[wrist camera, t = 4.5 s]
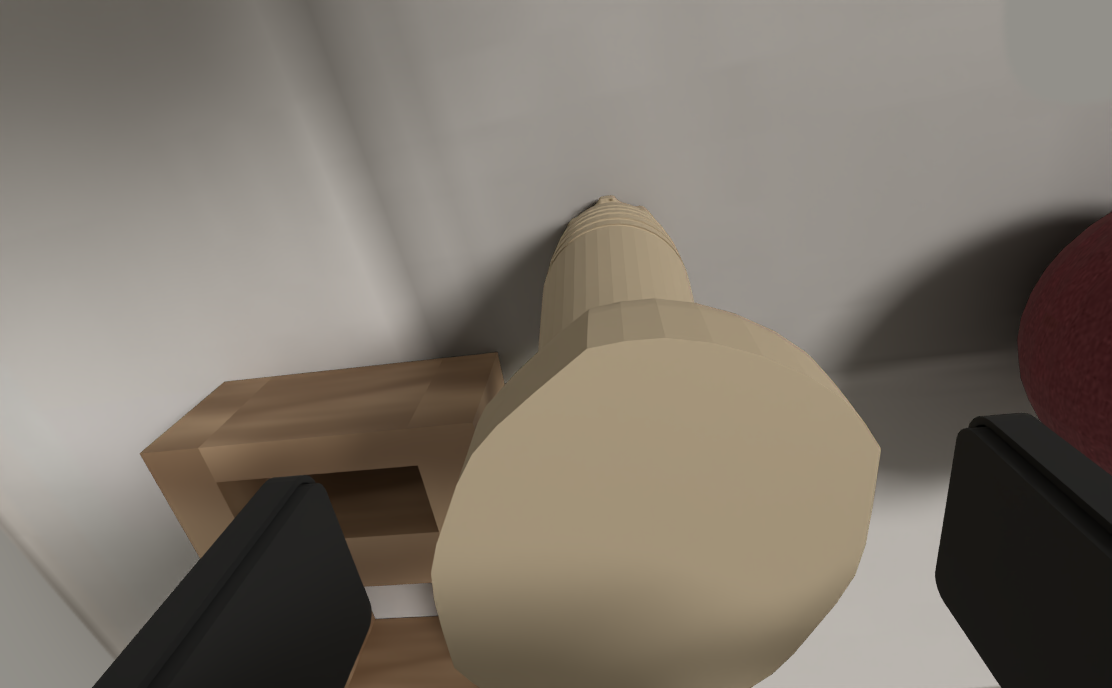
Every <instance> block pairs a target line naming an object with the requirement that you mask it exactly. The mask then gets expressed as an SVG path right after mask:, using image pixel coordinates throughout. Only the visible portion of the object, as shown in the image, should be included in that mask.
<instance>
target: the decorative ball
mask: <svg viewBox="0 0 1112 688" xmlns="http://www.w3.org/2000/svg"><path fill="white" fill-rule="evenodd" d="M1017 344H1018V358H1019V368H1020V376H1021V380H1022V383H1023V386H1024V388H1025V391H1026V394H1027V397H1028V399H1029V401H1030V403H1031V405H1032V407H1033V409H1034V410H1035V412H1036V414H1037V416H1038V418H1039V419H1040V421H1041V422H1042V423H1043V424H1044V425H1046V426H1047V427H1048V428H1050V429H1051V430H1052V431H1053V432H1055V433H1056V434H1057V435H1059V436H1060V437H1061V438H1063V439H1064V440H1065V441H1067V442H1068V443H1069V444H1071V445H1072V446H1073V447H1075V448H1076V449H1077V450H1078V451H1080V452H1081V453H1082V454H1084V455H1085V456H1086V457H1088V458H1089V459H1090V460H1092V461H1093V462H1094V463H1096V464H1097V465H1098V466H1100V467H1101V468H1102V469H1103V470H1105V471H1106V472H1107V473H1109V474H1110V475H1111V476H1112V212H1110V213H1109V214H1107V215H1106V216H1104V217H1103V218H1101V219H1100V220H1098V221H1096V222H1095V223H1093V224H1092V225H1091V226H1089V227H1088V228H1087V229H1086V230H1085V231H1083V232H1082V233H1081V234H1080V235H1079V236H1078V237H1076V238H1075V239H1074V240H1073V241H1072V242H1071V243H1069V244H1068V245H1067V246H1066V247H1065V248H1064V249H1063V250H1062V251H1061V252H1060V253H1059V254H1058V255H1057V256H1056V258H1055V259H1054V260H1053V261H1052V262H1051V263H1050V264H1049V266H1048V267H1047V268H1046V269H1045V271H1044V273H1043V274H1042V276H1041V277H1040V279H1039V280H1038V282H1037V284H1036V285H1035V287H1034V289H1033V290H1032V292H1031V294H1030V297H1029V299H1028V302H1027V304H1026V307H1025V309H1024V312H1023V314H1022V316H1021V321H1020V327H1019V332H1018V338H1017Z"/></svg>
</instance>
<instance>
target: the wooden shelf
mask: <svg viewBox="0 0 1112 688" xmlns="http://www.w3.org/2000/svg"><path fill="white" fill-rule="evenodd" d="M504 385H505V384H504V379H503V375H502V370H501V366H500V361H499V357H498V352H494V353H485V354H476V355H467V356H457V357H448V358H439V359H430V360H421V361H411V362H402V363H393V364H384V365H375V366H365V367H356V368H347V369H338V370H329V371H320V372H310V373H301V374H292V375H283V376H274V377H264V378H255V379H246V380H237V381H228V382H224V383H223V384H221V385H220V386H219V387H218V388H217V389H215V390H214V391H213V392H212V393H211V394H210V395H208V396H207V397H206V398H205V399H204V400H202V401H201V402H200V403H199V404H198V405H197V406H195V407H194V408H193V409H192V410H191V411H189V412H188V413H187V414H186V415H185V416H183V417H182V418H181V419H180V420H179V421H178V422H176V423H175V424H174V425H173V426H172V427H170V428H169V429H168V430H167V431H166V432H165V433H163V434H162V435H161V436H160V437H159V438H157V439H156V440H155V441H154V442H153V443H152V444H150V445H149V446H148V447H147V448H146V449H144V450H143V451H142V452H141V453H140V455H141V457H142V458H143V460H144V462H145V464H146V465H147V467H148V469H149V471H150V472H151V474H152V476H153V478H154V479H155V481H156V483H157V485H158V486H159V488H160V490H161V491H162V493H163V495H164V497H165V498H166V500H167V502H168V504H169V505H170V507H171V509H172V511H173V512H174V514H175V516H176V517H177V519H178V521H179V523H180V524H181V526H182V528H183V530H184V531H185V533H186V535H187V537H188V538H189V540H190V542H191V544H192V545H193V547H194V549H195V550H196V552H197V554H198V556H199V557H200V559H201V557H202V556H203V555H204V554H205V553H206V552H207V550H208V549H209V548H210V547H211V546H212V544H213V543H214V542H215V541H216V540H217V538H218V537H219V536H220V535H221V534H222V533H223V531H224V530H225V529H226V528H227V527H228V525H229V524H230V523H231V522H232V521H233V519H234V518H235V517H236V516H237V515H238V513H239V512H240V511H241V510H242V509H243V508H244V506H245V505H246V504H247V503H248V502H249V500H250V499H251V498H252V497H253V496H254V494H255V493H256V492H257V491H258V490H259V489H260V487H261V486H262V485H263V484H264V483H265V482H266V481H267V480H268V479H271V478H274V477H285V476H297V475H308V476H311V477H312V478H313V479H314V481H315V482H316V483H320V484H322V485H323V486H324V488H325V489H326V491H327V494H328V497H329V499H330V502H331V504H332V507H333V509H334V512H335V514H336V517H337V519H338V522H339V525H340V527H341V530H342V532H343V535H344V537H345V540H346V542H347V545H348V548H349V550H350V553H351V555H352V558H353V560H354V563H355V565H356V568H357V571H358V573H359V576H360V578H361V581H362V583H363V586H364V587H365V586H383V585H400V584H418V583H432V578H431V571H432V565H433V560H434V554H435V549H436V544H437V541H438V539H439V536H440V533H441V530H442V527H443V524H444V521H445V518H446V515H447V512H448V509H449V506H450V503H451V500H452V497H453V494H454V491H455V488H456V485H457V482H458V479H459V476H460V473H461V470H462V468H463V465H464V462H465V459H466V456H467V453H468V450H469V447H470V444H471V441H472V438H473V435H474V432H475V429H476V426H477V423H478V421H479V419H480V417H481V415H482V413H483V411H484V409H485V407H486V405H487V404H488V403H489V402H490V401H491V400H492V399H493V398H494V396H495V395H496V394H497V393H498V392H499V391H500V390H501V389H502V388H503V387H504ZM344 688H480V687H478V686H477V685H475V684H474V683H472V682H471V681H470V680H468V679H467V678H466V677H465V676H464V675H462V674H461V673H460V672H459V671H458V670H456V669H455V668H454V665H453V662H452V659H451V656H450V653H449V650H448V647H447V643H446V640H445V637H444V634H443V631H442V627H441V624H440V620H439V616H433V617H412V618H392V619H375V617H374V615H373V612H372V617H371V624H370V627H369V631H368V633H367V635H366V638H365V640H364V642H363V645H362V647H361V649H360V652H359V654H358V657H357V659H356V661H355V664H354V666H353V668H352V671H351V673H350V676H349V678H348V680H347V683H346V685H345V687H344Z"/></svg>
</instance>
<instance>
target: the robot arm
mask: <svg viewBox="0 0 1112 688" xmlns="http://www.w3.org/2000/svg"><path fill="white" fill-rule="evenodd" d="M935 578H936V584H937V588H938V591H939V593H940V596H941V598H942V599H943V601H944V603H945V604H946V606H947V607H948V609H949V610H950V612H951V613H952V615H953V616H954V618H955V619H956V621H957V622H958V624H959V625H960V627H961V628H962V630H963V631H964V633H965V634H966V636H967V637H968V639H969V640H970V642H971V643H972V645H973V646H974V648H975V649H976V651H977V652H978V654H979V655H980V657H981V658H982V660H983V661H984V663H985V664H986V666H987V667H988V669H989V670H990V672H991V673H992V675H993V676H994V677H995V679H996V680H997V682H998V683H999V685H1000V686H1001V688H1112V476H1111V475H1110V474H1109V473H1107V472H1106V471H1105V470H1103V469H1102V468H1101V467H1100V466H1098V465H1097V464H1096V463H1094V462H1093V461H1092V460H1090V459H1089V458H1088V457H1086V456H1085V455H1084V454H1082V453H1081V452H1080V451H1078V450H1077V449H1076V448H1075V447H1073V446H1072V445H1071V444H1069V443H1068V442H1067V441H1065V440H1064V439H1063V438H1061V437H1060V436H1059V435H1057V434H1056V433H1055V432H1053V431H1052V430H1051V429H1050V428H1048V427H1047V426H1046V425H1044V424H1043V423H1042V422H1040V421H1039V420H1038V419H1036V418H1035V417H1033V416H1031V415H1029V414H1027V413H1013V414H1002V415H990V416H979V417H976V418H974V419H973V420H972V421H971V423H970V424H969V428H965V429H962V430H961V431H960V432H959V433H958V436H957V439H956V446H955V452H954V458H953V464H952V471H951V477H950V483H949V489H948V496H947V502H946V508H945V514H944V521H943V527H942V533H941V539H940V546H939V552H938V558H937V564H936V571H935ZM371 617H372V610H371V604H370V601H369V599H368V596H367V593H366V591H365V588H364V586H363V583H362V581H361V578H360V576H359V573H358V571H357V568H356V565H355V563H354V560H353V558H352V555H351V553H350V550H349V548H348V545H347V542H346V540H345V537H344V535H343V532H342V530H341V527H340V525H339V522H338V519H337V517H336V514H335V512H334V509H333V507H332V504H331V502H330V499H329V497H328V494H327V491H326V489H325V488H324V486H323V485H322V484H320V483H316V482H315V481H314V479H313V478H312V477H311V476H308V475H297V476H285V477H274V478H271V479H268V480H267V481H266V482H265V483H264V484H263V485H262V486H261V487H260V489H259V490H258V491H257V492H256V493H255V494H254V496H253V497H252V498H251V499H250V500H249V502H248V503H247V504H246V505H245V506H244V508H243V509H242V510H241V511H240V512H239V513H238V515H237V516H236V517H235V518H234V519H233V521H232V522H231V523H230V524H229V525H228V527H227V528H226V529H225V530H224V531H223V533H222V534H221V535H220V536H219V537H218V538H217V540H216V541H215V542H214V543H213V544H212V546H211V547H210V548H209V549H208V550H207V552H206V553H205V554H204V555H203V556H202V557H201V559H200V560H199V561H198V562H197V563H196V565H195V566H194V567H193V568H192V569H191V571H190V572H189V573H188V574H187V575H186V577H185V578H184V579H183V580H182V581H181V582H180V584H179V585H178V586H177V587H176V588H175V590H174V591H173V592H172V593H171V594H170V596H169V597H168V598H167V599H166V600H165V601H164V603H163V604H162V605H161V606H160V607H159V609H158V610H157V611H156V612H155V613H154V615H153V616H152V617H151V618H150V619H149V621H148V622H147V623H146V624H145V625H144V626H143V628H142V629H141V630H140V631H139V632H138V634H137V635H136V636H135V637H134V638H133V640H132V641H131V642H130V643H129V644H128V645H127V647H126V648H125V649H124V650H123V651H122V653H121V654H120V655H119V656H118V657H117V659H116V660H115V661H114V662H113V663H112V665H111V666H110V667H109V668H108V669H107V671H106V672H105V673H104V674H103V675H102V677H101V678H100V679H99V680H98V681H97V682H96V684H95V685H94V686H93V687H92V688H344V687H345V685H346V683H347V680H348V678H349V676H350V673H351V671H352V668H353V666H354V664H355V661H356V659H357V657H358V654H359V652H360V649H361V647H362V645H363V642H364V640H365V638H366V635H367V633H368V631H369V627H370V624H371Z"/></svg>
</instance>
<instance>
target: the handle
mask: <svg viewBox="0 0 1112 688" xmlns="http://www.w3.org/2000/svg"><path fill="white" fill-rule="evenodd" d="M880 453H881V448H880V446H879V445H878V443H877V441H876V440H875V438H874V437H873V435H872V433H871V432H870V430H869V429H868V427H867V425H866V424H865V423H864V421H863V420H862V419H861V417H860V416H859V414H858V413H857V412H856V410H855V409H854V408H853V406H852V405H851V404H850V402H849V401H848V400H847V398H846V397H845V396H844V395H843V393H842V392H841V391H840V390H839V388H838V387H837V386H836V385H835V383H834V382H833V381H832V380H831V379H830V378H829V376H828V375H827V374H826V373H825V372H824V371H823V370H822V369H821V367H820V366H819V365H818V364H817V363H816V362H815V361H814V360H813V359H812V358H811V357H810V356H809V355H808V354H807V353H806V352H805V351H803V350H802V349H800V348H799V347H797V346H796V345H794V344H793V343H791V342H790V341H788V340H787V339H785V338H784V337H782V336H781V335H779V334H778V333H776V332H775V331H773V330H770V329H768V328H766V327H764V326H761V325H759V324H757V323H755V322H752V321H750V320H748V319H746V318H743V317H741V316H739V315H737V314H734V313H731V312H727V311H723V310H720V309H716V308H712V307H708V306H705V305H701V304H697V303H694V299H693V295H692V291H691V286H690V282H689V278H688V275H687V272H686V269H685V266H684V264H683V262H682V260H681V257H680V255H679V253H678V251H677V249H676V247H675V245H674V243H673V241H672V240H671V238H670V237H669V236H668V234H667V233H666V232H665V230H664V229H663V228H662V226H661V225H660V224H659V223H658V222H657V221H656V220H655V219H654V217H653V216H652V215H651V213H650V212H649V211H648V210H647V209H646V208H645V207H643V206H632V205H629V204H626V203H622V202H620V201H619V200H617V199H616V198H615V196H613V195H610V196H603V197H600V198H599V200H598V202H597V203H596V204H595V206H593V207H590V208H589V209H587V210H586V211H584V212H583V213H581V214H580V215H579V216H577V217H576V218H573V219H572V220H571V221H570V222H569V224H568V225H567V227H566V229H565V231H564V233H563V235H562V237H561V238H560V240H559V243H558V245H557V247H556V250H555V252H554V254H553V256H552V259H551V262H550V266H549V269H548V273H547V276H546V280H545V284H544V288H543V298H542V310H541V323H540V335H539V348H538V352H537V353H536V354H535V355H534V356H533V357H532V358H531V359H530V360H529V361H528V362H527V363H526V364H525V365H524V366H523V367H522V368H521V369H519V370H518V371H517V372H516V373H515V374H514V375H513V377H512V378H511V379H510V380H509V381H508V382H507V383H506V384H505V385H504V387H503V388H502V389H501V390H500V391H499V392H498V393H497V394H496V395H495V396H494V398H493V399H492V400H491V401H490V402H489V403H488V404H487V405H486V407H485V409H484V411H483V413H482V415H481V417H480V419H479V421H478V423H477V426H476V429H475V432H474V435H473V438H472V441H471V444H470V447H469V450H468V453H467V456H466V459H465V462H464V465H463V468H462V470H461V473H460V476H459V479H458V482H457V485H456V488H455V491H454V494H453V497H452V500H451V503H450V506H449V509H448V512H447V515H446V518H445V521H444V524H443V527H442V530H441V533H440V536H439V539H438V541H437V544H436V549H435V554H434V560H433V565H432V571H431V578H432V586H433V595H434V602H435V605H436V609H437V613H438V616H439V620H440V624H441V627H442V631H443V634H444V637H445V640H446V643H447V647H448V650H449V653H450V656H451V659H452V662H453V665H454V668H455V669H456V670H458V671H459V672H460V673H461V674H462V675H464V676H465V677H466V678H467V679H468V680H470V681H471V682H472V683H474V684H475V685H477V686H478V687H480V688H751V687H753V686H754V685H756V684H757V683H759V682H761V681H762V680H764V679H765V678H767V677H768V676H770V675H772V674H773V673H774V672H775V671H776V670H777V669H778V668H779V667H780V666H781V665H782V664H783V663H784V662H786V661H787V660H788V659H789V658H790V657H791V656H792V655H793V654H794V653H795V652H796V651H797V649H798V648H799V647H800V646H801V645H802V643H803V642H804V641H805V640H806V639H807V638H808V636H809V635H810V634H811V633H812V632H813V630H814V629H815V628H816V627H817V626H818V625H819V623H820V622H821V621H822V620H823V619H824V617H825V616H826V615H827V614H828V613H829V611H830V610H831V609H832V608H833V607H834V606H835V604H836V603H837V602H838V600H839V599H840V597H841V596H842V594H843V593H844V591H845V590H846V588H847V587H848V585H849V584H850V582H851V581H852V579H853V578H854V576H855V574H856V571H857V568H858V565H859V562H860V559H861V557H862V554H863V551H864V548H865V545H866V540H867V534H868V529H869V523H870V518H871V513H872V507H873V501H874V494H875V487H876V480H877V473H878V466H879V459H880Z"/></svg>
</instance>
